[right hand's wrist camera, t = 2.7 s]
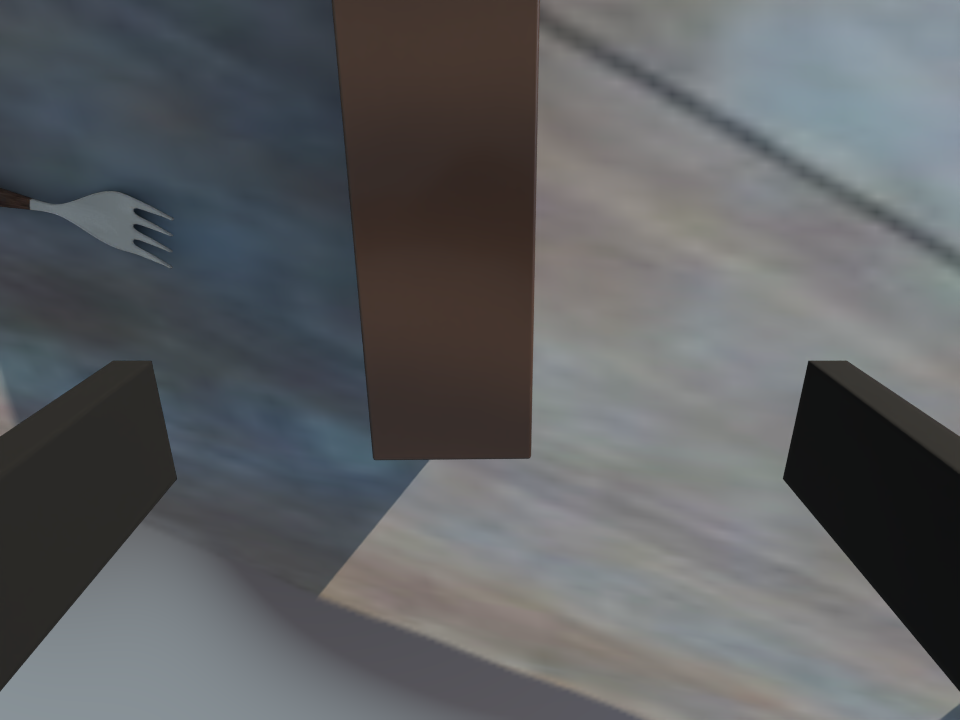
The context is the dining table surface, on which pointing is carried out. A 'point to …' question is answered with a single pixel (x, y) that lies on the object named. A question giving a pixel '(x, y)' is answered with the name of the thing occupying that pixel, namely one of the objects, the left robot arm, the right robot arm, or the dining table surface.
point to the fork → (100, 218)
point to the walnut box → (443, 219)
